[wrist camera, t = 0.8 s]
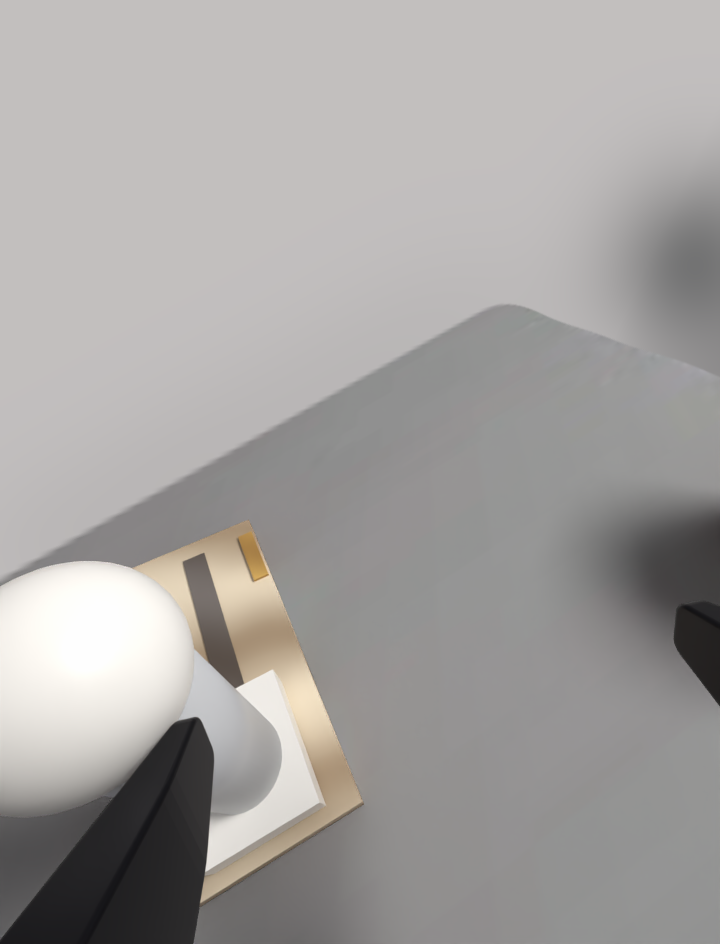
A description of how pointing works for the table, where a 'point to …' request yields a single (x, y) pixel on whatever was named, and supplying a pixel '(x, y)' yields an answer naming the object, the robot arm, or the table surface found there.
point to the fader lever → (135, 706)
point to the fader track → (255, 668)
